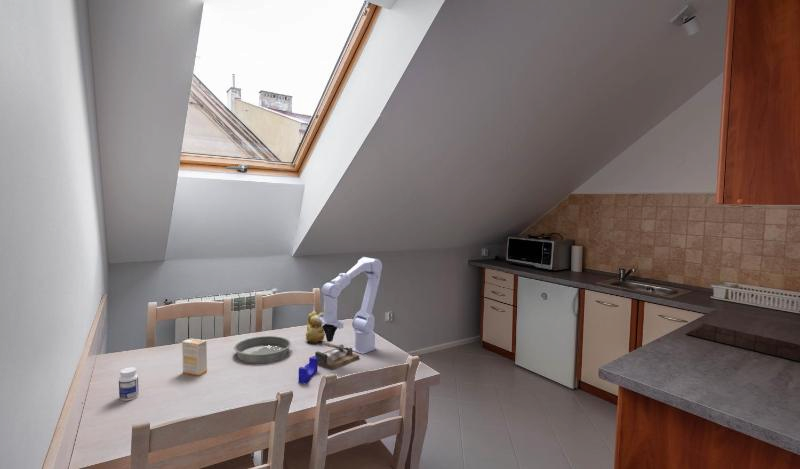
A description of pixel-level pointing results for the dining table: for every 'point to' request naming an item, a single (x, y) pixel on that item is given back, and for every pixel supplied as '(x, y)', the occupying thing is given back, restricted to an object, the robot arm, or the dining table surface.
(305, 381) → the cable clip
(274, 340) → the cake pan
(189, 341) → the supplement box
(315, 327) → the decorative figurine
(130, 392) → the pill bottle
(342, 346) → the tan and grey block
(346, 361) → the clamp board
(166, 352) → the dining table surface
